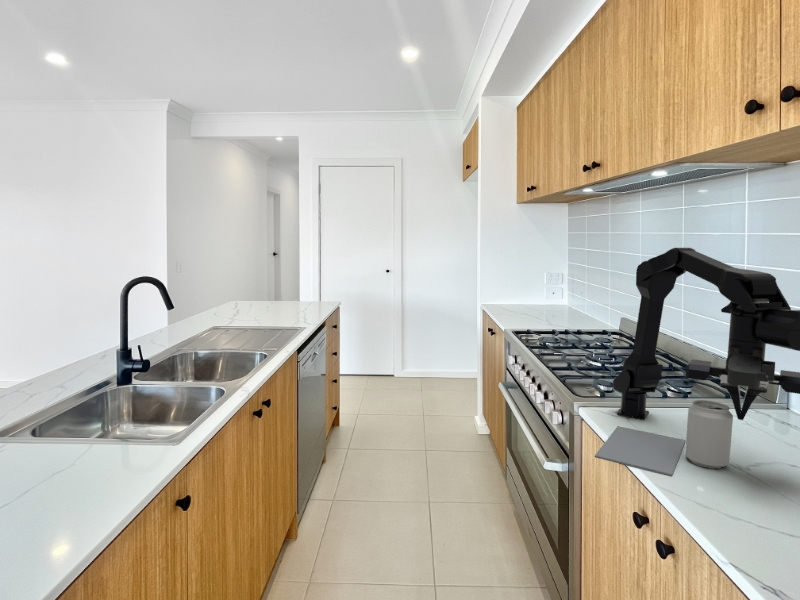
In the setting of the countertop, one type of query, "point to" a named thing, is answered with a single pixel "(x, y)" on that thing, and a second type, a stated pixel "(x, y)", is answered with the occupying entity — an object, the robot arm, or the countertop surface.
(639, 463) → the mat
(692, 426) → the can
